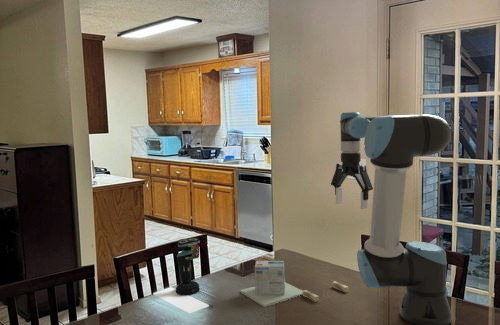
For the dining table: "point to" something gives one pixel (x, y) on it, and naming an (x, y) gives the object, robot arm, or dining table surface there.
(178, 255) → the cordless drill
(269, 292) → the light bulb box
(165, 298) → the dining table surface
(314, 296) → the beige rectangular blocks
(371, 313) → the dining table surface
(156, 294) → the dining table surface
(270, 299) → the mat
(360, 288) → the dining table surface
